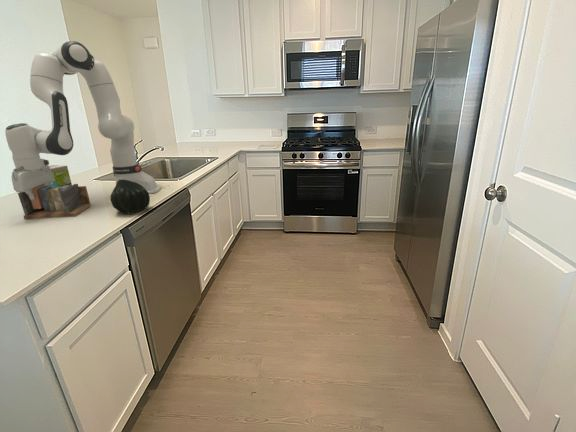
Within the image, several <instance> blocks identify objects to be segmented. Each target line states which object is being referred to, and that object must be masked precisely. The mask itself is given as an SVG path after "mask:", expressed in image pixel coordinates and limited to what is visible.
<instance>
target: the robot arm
mask: <svg viewBox="0 0 576 432" xmlns="http://www.w3.org/2000/svg"><path fill="white" fill-rule="evenodd" d="M77 73H79V74H80V75H81V76H82V77H83V78H84V80H85V81H86V84H87V88H88V90H89V93H90V94H91V97H92V101H93V103H94V105H95V109H96V112H97V119H98V123H97V128H98V132H99V134H100V135H102V137H104V138H106V139H108V140H110V142H111V143H110V150H109V151H110V157H111V162H112V173H113V176H114V178H115V185H116V184H117V182H118V181H119V179H121V180H128V181H132V182H135V183H138V184H140V185H142V186H143V187H144V188H145V189H146V190H147V192H148V193H149V195H151V194H155V193H157V192H159V191H160V190H161V189H162V186H161V185H160V184H157V183H156V180H155V178H154V177H153V176H151V175H150V174H148V173H146V172H145V171H143V170H142V167H143V166H142V164H140V165H139V164H138V163H137V159H136V152H135V134H134V132H135V131H134V130H135V124H134V121H133V120H132V119H131V118H130V117H128V116H126V115H123V114H122V111H121V110H122V109H121V99H120V96H119V93H118V91H117V88H116V86H115V84H114V80H113V79H112V77H111V73H110V72H109V70H108V68H107V67H106V66H105V64H104V62H102V61H99V60H96V59H95V58H94V56H93V55H92V54H91V52H90V51H89V50H88V48H87V47H86V46H85V45H84V44H83V43H81V42H79V41H76V40H70V41H66V42H64V43H63V44H61V45H60V46H58V48H56V50H55V51H54V52H53V53H52V54H51V53H47V52H38V53H36V54H34V57H33V59H32V63H31V68H30V78H29V86H30V91H31V92H32V94H33V96H34V97H35V98H37V99H38V100H40V101H42V102H44V103H45V104H47V106H48V107H49V108H50V114H51V127H52V128H51V130H42V129H40V128H36V127H33V126H31V125H29V124H28V123H20V122H19V123H15V124H11V125H8V126H7V127H6V128H5V130H4V131H5V132H4V133H5V137H6V138H5V139H6V142H7V145H8V149H9V150H10V152H11V154H12V160H13V165H14V167H15V168H13V169H12V170H13V171H12V172H11V182H12V186H13V190H14V192H16V193H19V192H25V193H26V194H27V195H28V196H29V198H30V199H31V200H33V199H36V195H35V194H33V193H32V191H33V190H32V189H33V188H35V187H38V186H40V185H44V186H47V185H46V183H47V182H50V181H52V178H53V177H52V173H51V169H50V167H49V166H50V160H48V159H44V158H41V156H40V154H47V155H48V154H49V155H57V156H67V155H69V154H70V153H71V152H72V151H73V148H74V139H73V136H72V132H71V125H70V124H71V122H70V114H69V104H68V100H67V97H66V96H65V94H64V76H65V75H66V76H71V75H72V76H74V75H75V74H77Z"/></svg>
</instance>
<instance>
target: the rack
mask: <svg viewBox="0 0 576 432" xmlns="http://www.w3.org/2000/svg"><path fill="white" fill-rule="evenodd" d="M38 190H39V194H40V197H41V200H42V203H43V207H44V208H42V209H33V206H32V203H31V200H30V198H29V196H28V195H27V194H26V193H25V192H17V195H18V199H19V201H20V204H21V207H22V210H23V214H24V215H23V219H24V220H35V219H48V218H49V219H53V217H55V218H69V217H77V216H78V215H80V214H81V213H83V212H84V211H86V210H87V209H89V208H90V207H92V205H91V200H90V197H89V193H88V190H87V185H85V186H81V185H80V186H79V184H78V183H74V184H72V186H71V185H63V186H58V187H55V188H52V186H44V187H42V188H39V189H38Z"/></svg>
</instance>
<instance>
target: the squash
mask: <svg viewBox="0 0 576 432" xmlns="http://www.w3.org/2000/svg"><path fill="white" fill-rule="evenodd" d="M110 194H111V195H110V203H111V206H112V207H113V208H114V209H115V210H116V211H117V212H119V213H120V214H125V215H127V214H129V215H131V214H134V213H135V212H139V211H141V210H142V209H143V210H145V209H146V208H148V207H149V205H150V199H151V197H150V194H149V193H148V192H147V190H146V189H145V188H144V187H143V186H142V185H140V184H138V183H135V182H132V181H128V180H121V179H119V181H118V182H117V184H116V183H115V186H114V188H113V190H112V192H111V193H110ZM143 210H142V211H143Z"/></svg>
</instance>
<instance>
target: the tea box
mask: <svg viewBox="0 0 576 432" xmlns="http://www.w3.org/2000/svg"><path fill="white" fill-rule="evenodd" d="M48 166H49V167H50V169H51V173H52V177H53V178H52V181H50V182H47V183H46V185H47V186H52V188H55V187H58V186H63V185H71V186H72V185H73V184H72V180H71V176H70V171H69V168H68V165H60V164H59V165H57V164H56V165H55V164H51V165H48Z"/></svg>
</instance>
